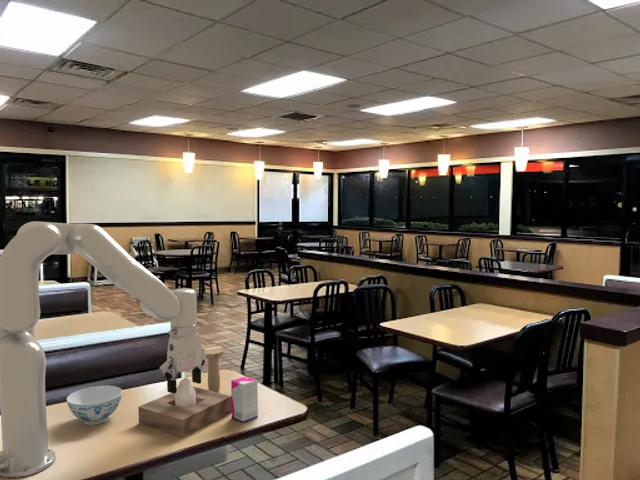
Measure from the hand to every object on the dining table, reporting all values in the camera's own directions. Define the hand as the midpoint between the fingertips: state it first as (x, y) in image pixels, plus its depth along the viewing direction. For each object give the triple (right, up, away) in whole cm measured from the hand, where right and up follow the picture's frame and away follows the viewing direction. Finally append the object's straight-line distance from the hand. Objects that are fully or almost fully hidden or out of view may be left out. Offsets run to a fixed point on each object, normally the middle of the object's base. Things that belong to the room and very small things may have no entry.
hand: (184, 387), depth 150 cm
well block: (0, -9, +1) cm, 9 cm away
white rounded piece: (0, -10, +1) cm, 10 cm away
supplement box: (+18, -9, +1) cm, 20 cm away
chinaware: (-26, -10, 0) cm, 28 cm away
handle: (+5, -8, +18) cm, 20 cm away
